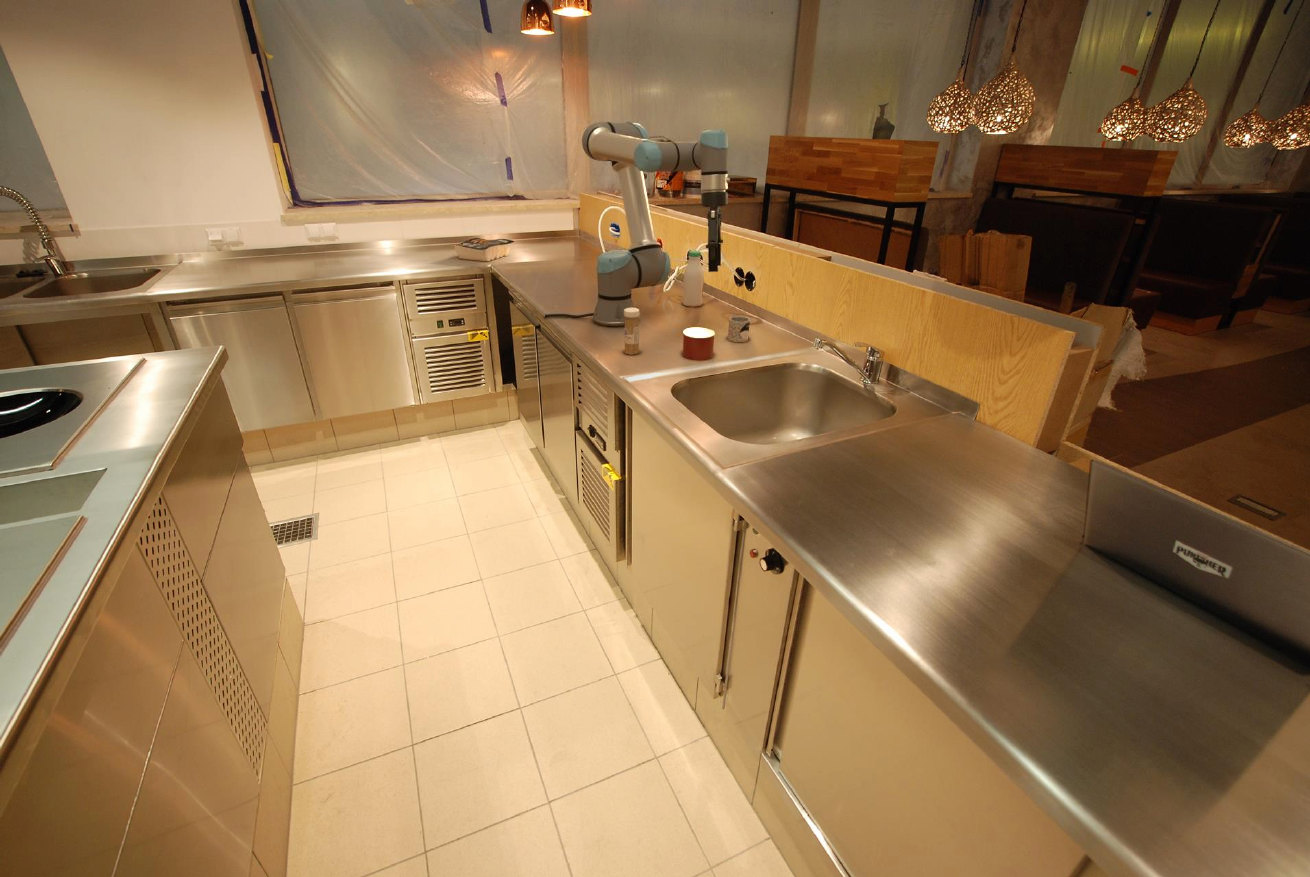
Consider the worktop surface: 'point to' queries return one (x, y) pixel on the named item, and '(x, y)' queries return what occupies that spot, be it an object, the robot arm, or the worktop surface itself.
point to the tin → (698, 343)
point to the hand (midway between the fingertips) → (714, 268)
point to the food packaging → (483, 249)
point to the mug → (738, 329)
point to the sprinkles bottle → (631, 331)
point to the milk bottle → (693, 280)
